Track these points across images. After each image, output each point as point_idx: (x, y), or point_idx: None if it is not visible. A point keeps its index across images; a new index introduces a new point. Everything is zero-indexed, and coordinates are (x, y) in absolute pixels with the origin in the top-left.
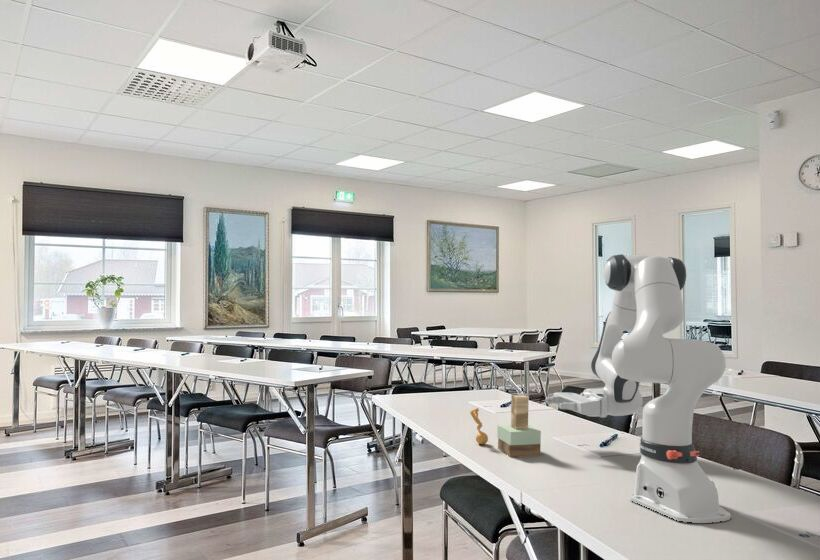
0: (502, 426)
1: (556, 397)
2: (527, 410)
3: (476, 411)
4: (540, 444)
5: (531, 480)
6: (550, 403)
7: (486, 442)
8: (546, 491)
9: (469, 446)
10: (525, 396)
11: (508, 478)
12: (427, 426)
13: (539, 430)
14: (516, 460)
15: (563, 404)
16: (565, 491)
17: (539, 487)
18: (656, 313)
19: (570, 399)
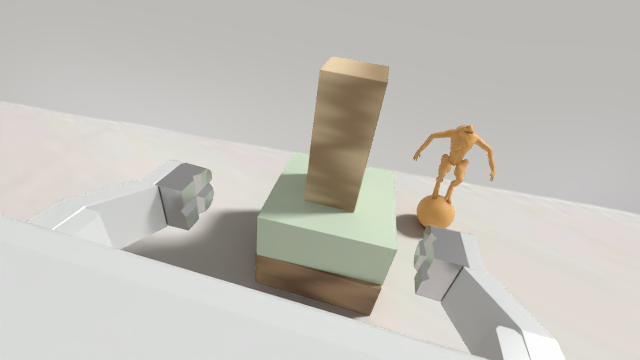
0: (371, 172)
1: (494, 338)
2: (313, 132)
3: (458, 132)
4: (256, 255)
5: (132, 152)
6: (416, 277)
7: (421, 223)
8: (72, 137)
9: (412, 197)
10: (335, 69)
11: (176, 138)
12: (634, 224)
13: (264, 216)
14: (257, 204)
15: (159, 174)
16: (31, 152)
17: (96, 141)
18: None
19: (150, 259)
